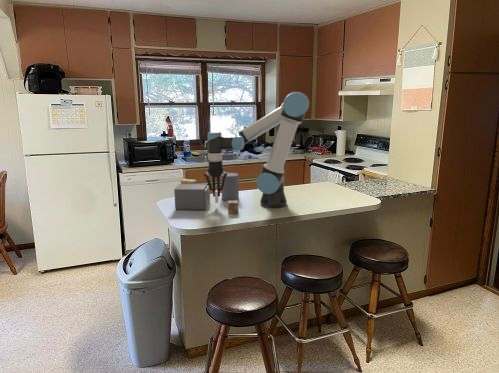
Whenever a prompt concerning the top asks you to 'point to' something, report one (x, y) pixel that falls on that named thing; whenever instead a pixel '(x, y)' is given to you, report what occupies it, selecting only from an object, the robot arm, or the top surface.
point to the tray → (207, 197)
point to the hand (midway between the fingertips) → (216, 202)
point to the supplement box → (188, 181)
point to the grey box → (190, 197)
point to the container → (230, 187)
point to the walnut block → (233, 207)
